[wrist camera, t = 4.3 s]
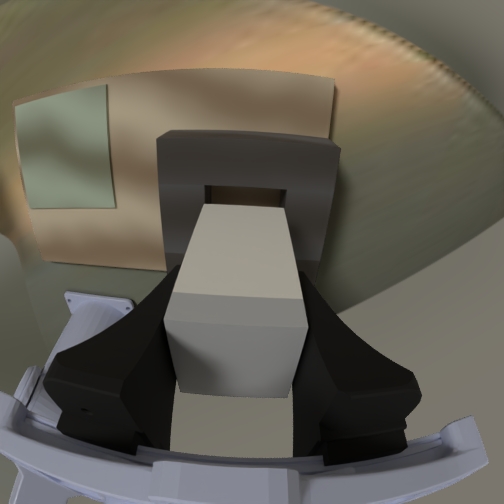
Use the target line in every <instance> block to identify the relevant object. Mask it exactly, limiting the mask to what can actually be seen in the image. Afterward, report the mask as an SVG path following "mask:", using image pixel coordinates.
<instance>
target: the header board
mask: <svg viewBox="0 0 504 504" xmlns="http://www.w3.org/2000/svg"><path fill="white" fill-rule="evenodd" d="M334 83H335V79H333V78H327V77H321V76H314V75H307V74H299V73H291V72H281V71H269V70H255V69H229V68H203V69H177V70H162V71H151V72H141V73H133V74H125V75H118V76H112V77H106V78H100V79H95V80H90V81H85V82H80V83H76V84H71V85H67V86H63V87H59V88H55V89H51V90H48V91H44V92H41V93H37V94H34V95H31V96H27V97H24V98H21V99H18V100H15V101H13V102H12V106H13V121H14V132H15V141H16V149H17V156H18V163H19V169H20V175H21V180H22V185H23V190H24V195H25V199H26V204H27V208H28V212H29V216H30V220H31V223H32V227H33V231H34V234H35V238H36V241H37V244H38V247H39V251H40V254H41V257H42V260H43V261H54V262H64V263H75V264H86V265H98V266H110V267H123V268H136V269H149V270H163V271H167V275H168V273H169V272H170V271H171V270H172V269H173V268H174V267H175V266H176V265H182V262H183V259H184V257H185V254H186V251H187V248H188V245H189V242H190V240H191V237H192V234H193V232H194V229H195V226H196V223H197V221H198V218H199V215H200V213H201V210H202V208H203V205H204V204H221V205H242V206H260V207H276V208H284V211H285V215H286V220H287V224H288V229H289V233H290V238H291V242H292V247H293V252H294V257H295V261H296V266H297V271H304V273H305V274H306V275H307V277H308V278H309V280H310V281H311V283H312V284H313V285H314V286H315V282H316V278H317V273H318V269H319V264H320V260H321V255H322V250H323V246H324V241H325V236H326V231H327V226H328V221H329V216H330V211H331V205H332V200H333V194H334V188H335V183H336V177H337V171H338V164H339V158H340V152H341V148H340V147H338V146H337V145H336V144H335V143H333V142H332V141H331V140H330V139H328V136H329V128H330V120H331V111H332V103H333V93H334Z"/></svg>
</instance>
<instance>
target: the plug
mask: <svg viewBox="0 0 504 504" xmlns="http://www.w3.org/2000/svg"><path fill="white" fill-rule="evenodd" d="M164 324H165V329H166V334H167V338H168V343H169V348H170V352H171V356H172V361H173V365H174V369H175V373H176V377H177V381H178V385H179V389H180V392H184V393H194V394H203V395H215V396H230V397H254V398H287V397H288V394H289V391H290V388H291V384H292V381H293V378H294V375H295V372H296V368H297V365H298V362H299V358H300V355H301V352H302V348H303V345H304V341H305V338H306V334H307V330H308V323H307V317H306V312H305V307H304V301H303V296H302V291H301V286H300V281H299V276H298V271H297V266H296V261H295V257H294V252H293V247H292V242H291V238H290V233H289V229H288V224H287V220H286V215H285V211H284V208H276V207H260V206H242V205H221V204H204V205H203V208H202V210H201V213H200V215H199V218H198V221H197V223H196V226H195V229H194V232H193V234H192V237H191V240H190V242H189V245H188V248H187V251H186V254H185V257H184V259H183V262H182V265H181V268H180V271H179V274H178V277H177V280H176V283H175V286H174V289H173V292H172V295H171V298H170V301H169V304H168V307H167V310H166V313H165V316H164Z"/></svg>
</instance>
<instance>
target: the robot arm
mask: <svg viewBox="0 0 504 504" xmlns="http://www.w3.org/2000/svg"><path fill="white" fill-rule="evenodd" d="M180 268H181V265H176V266H175V267H174V268H173V269H172V270H171V271H170V272H169V273H168V275H167V276H166V277H165V278H164V279H163V280H162V281H161V282H160V283H159V284H158V285H157V286H156V287H155V289H154V290H153V291H152V292H151V293H150V294H149V295H148V296H147V297H146V298H144V299H143V300H142V301H141V302H140V303H139V304H138V305H137V306H136V307H135V308H134V304H133V302H132V301H131V300H130V299H125V298H116V297H107V296H99V295H91V294H84V293H76V292H69V291H67V292H66V293H65V294H64V296H65V299H66V301H67V304H68V306H69V309H70V311H71V313H72V316H71V318H70V320H69V322H68V323H67V325H66V327H65V329H64V330H63V332H62V334H61V336H60V338H59V339H58V341H57V343H56V345H55V347H54V349H53V351H52V353H51V355H50V356H49V358H48V361H47V362H46V364H45V366H44V367H43V368H42V370H41V369H40V368H39V367H38V366H36V365H35V366H34V367H28V369H27V370H26V372H25V374H24V376H23V378H22V380H21V382H20V384H19V386H18V388H17V390H16V392H15V394H14V396H11V395H9V394H6V393H5V392H3V391H0V453H1V454H3V455H4V456H5V457H7V458H8V459H10V460H11V461H13V462H14V463H15V465H16V466H17V468H18V470H19V471H18V474H17V477H16V480H15V483H14V487H13V490H12V493H11V496H10V500H9V503H8V504H67V501H68V499H69V498H71V497H76V496H81V495H83V496H86V497H88V498H91V499H94V500H97V501H100V502H102V503H105V504H403V503H406V502H409V501H412V500H414V499H417V498H420V497H422V496H425V495H428V494H430V493H433V492H435V491H438V490H440V489H443V488H445V487H447V486H450V485H452V484H454V483H456V482H458V481H460V480H462V479H463V478H465V477H467V476H469V475H470V474H472V473H474V472H475V471H477V470H479V469H480V468H482V467H484V466H485V465H487V464H488V462H489V461H488V458H487V455H486V452H485V449H484V446H483V443H482V440H481V437H480V434H479V431H478V428H477V426H476V423H475V420H474V418H473V416H472V415H470V416H467V417H464V418H462V419H459V420H456V421H453V422H451V423H449V424H448V425H447V426H445V427H444V428H443V429H442V430H441V431H440V432H438V433H435V434H432V435H428V436H425V437H421V438H417V439H414V440H410V441H406V437H405V433H404V429H406V427H407V425H406V421H405V418H406V417H407V416H408V415H409V414H410V413H411V412H412V411H413V410H414V408H415V407H416V406H417V405H418V404H419V402H420V400H421V397H422V394H421V391H420V388H419V385H418V382H417V380H416V378H415V376H414V374H413V372H411V371H410V370H408V369H406V368H404V367H402V366H400V365H399V364H397V363H395V362H393V361H392V360H390V359H388V358H387V357H385V356H384V355H382V354H381V353H379V352H378V351H376V350H375V349H373V348H372V347H371V346H370V345H368V344H367V343H366V342H365V341H363V340H362V339H361V338H360V337H358V336H357V335H356V334H355V333H354V332H353V331H352V330H351V329H350V328H349V327H348V326H347V325H346V324H344V323H343V321H342V320H341V319H340V318H339V317H338V316H337V315H336V314H335V313H334V311H333V310H332V309H331V308H330V307H329V305H328V304H327V303H326V302H325V300H324V299H323V298H322V296H321V295H320V294H319V292H318V291H317V290H316V288H315V287H314V285H313V284H312V283H311V281H310V280H309V278H308V277H307V275H306V274H305V273H304V271H298V276H299V281H300V286H301V291H302V296H303V301H304V307H305V312H306V317H307V323H308V330H307V334H306V338H305V341H304V345H303V348H302V352H301V355H300V358H299V362H298V365H297V368H296V372H295V375H294V378H293V381H292V391H293V458H233V457H219V456H207V455H197V454H188V453H181V452H174V451H170V435H171V423H172V412H173V403H174V394H175V386H176V380H177V377H176V373H175V369H174V365H173V361H172V356H171V352H170V348H169V343H168V338H167V334H166V329H165V324H164V316H165V313H166V310H167V307H168V304H169V301H170V298H171V295H172V292H173V289H174V286H175V283H176V280H177V277H178V274H179V271H180ZM128 307H129V308H128Z"/></svg>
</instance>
